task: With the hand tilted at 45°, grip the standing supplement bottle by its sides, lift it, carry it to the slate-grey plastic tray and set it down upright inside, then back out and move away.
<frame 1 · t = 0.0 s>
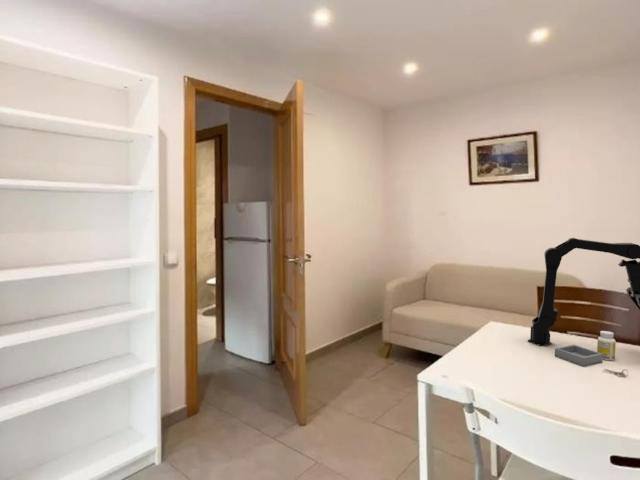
supplement bottle: (605, 358, 143), on the table
tray: (577, 359, 142), on the table
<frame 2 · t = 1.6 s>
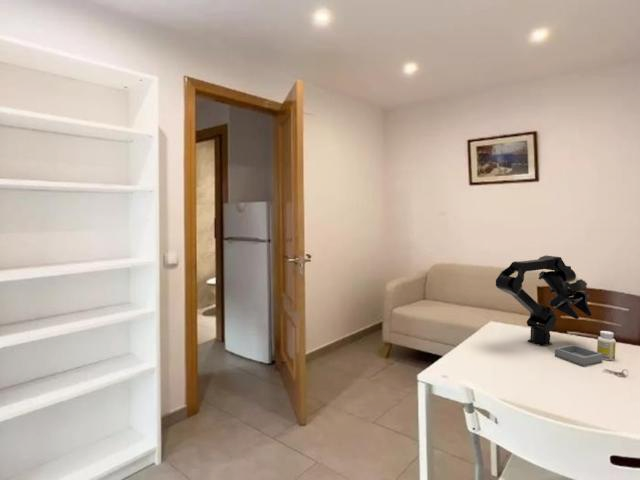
hand: (584, 317, 149), 13 cm above the table, tool tilted 45°, fingers open, 9 cm apart
nothing on the table moved.
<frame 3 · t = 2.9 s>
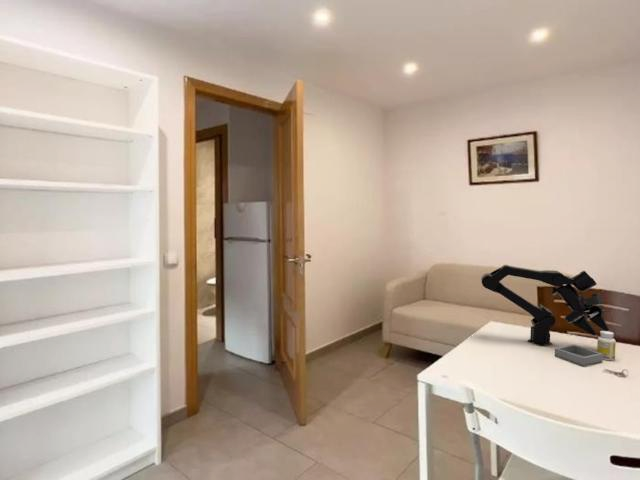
hand: (601, 332, 144), 9 cm above the table, tool tilted 45°, fingers open, 9 cm apart
nothing on the table moved.
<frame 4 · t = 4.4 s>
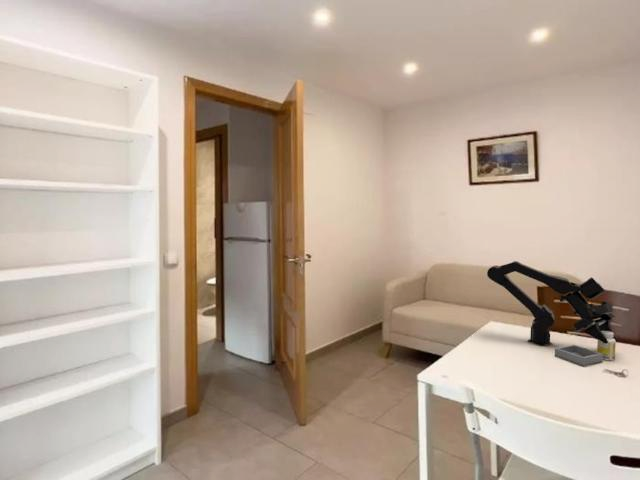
hand: (610, 341, 141), 7 cm above the table, tool tilted 45°, fingers closed on supplement bottle, 5 cm apart
supplement bottle: (605, 358, 143), on the table, touching gripper
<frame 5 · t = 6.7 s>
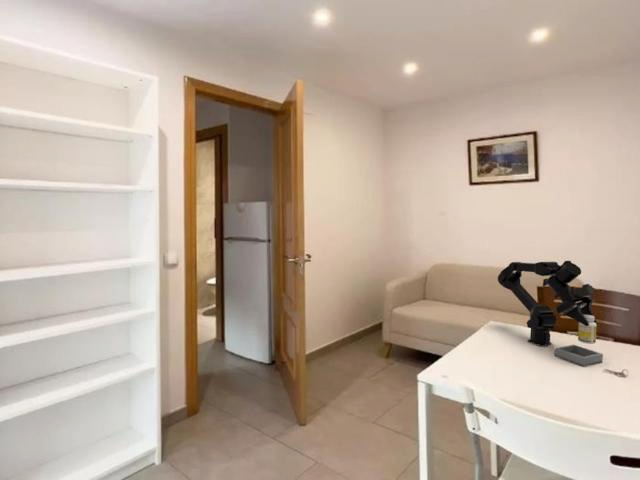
hand: (591, 324, 140), 13 cm above the table, tool tilted 45°, fingers closed on supplement bottle, 5 cm apart
supplement bottle: (586, 342, 142), point 6 cm above the table, touching gripper
when the fingers open (9 cm above the table, at t = 8.5 s): supplement bottle stays where it is, resting on tray.
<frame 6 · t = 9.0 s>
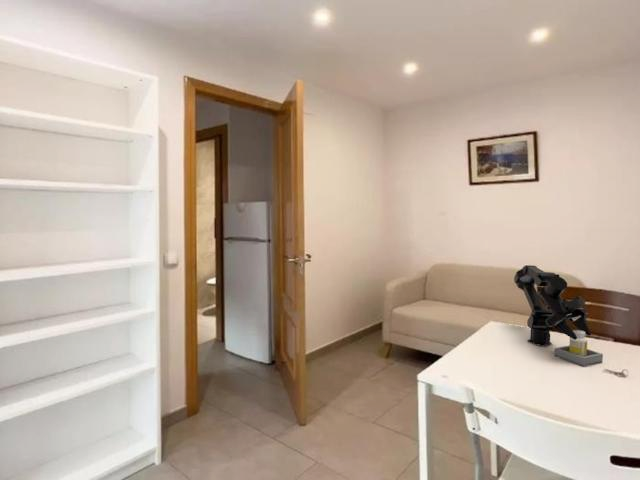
hand: (583, 337, 140), 9 cm above the table, tool tilted 45°, fingers open, 9 cm apart
supplement bottle: (577, 357, 142), resting on tray
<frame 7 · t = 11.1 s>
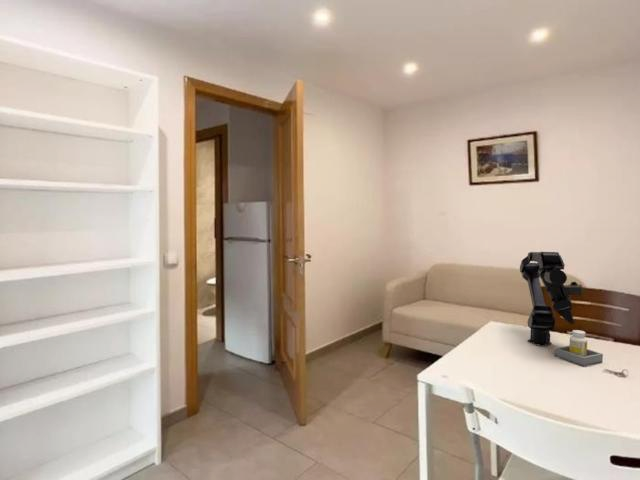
hand: (572, 320, 147), 13 cm above the table, tool tilted 25°, fingers open, 9 cm apart
nothing on the table moved.
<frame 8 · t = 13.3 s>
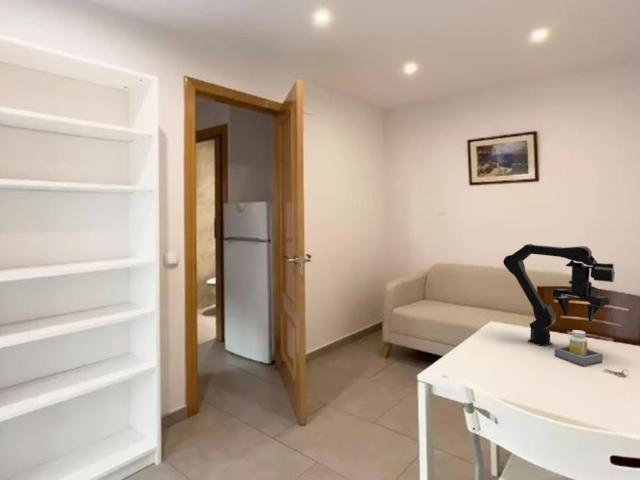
hand: (578, 318, 149), 13 cm above the table, tool pointing down, fingers open, 9 cm apart
nothing on the table moved.
at the end: supplement bottle 0.2 cm off-centre on the tray, point 0.4 cm above the tray's base; supplement bottle tilted 0°; the gripper is holding nothing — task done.
